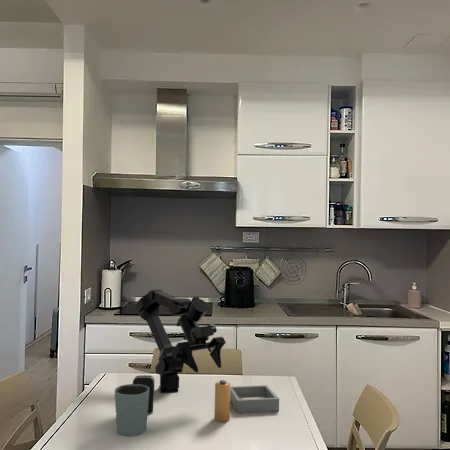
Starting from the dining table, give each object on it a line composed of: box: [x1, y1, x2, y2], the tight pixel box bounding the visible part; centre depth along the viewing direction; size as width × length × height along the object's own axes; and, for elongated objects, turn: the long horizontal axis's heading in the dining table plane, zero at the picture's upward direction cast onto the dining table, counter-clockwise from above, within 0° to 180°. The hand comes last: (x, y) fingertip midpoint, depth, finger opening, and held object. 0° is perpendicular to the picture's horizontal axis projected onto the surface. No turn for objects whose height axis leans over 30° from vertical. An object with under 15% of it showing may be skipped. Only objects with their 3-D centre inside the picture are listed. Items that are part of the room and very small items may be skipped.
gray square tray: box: [230, 384, 280, 414], centre depth 164 cm, size 14×14×4 cm
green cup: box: [114, 383, 149, 437], centre depth 140 cm, size 10×10×12 cm
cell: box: [213, 379, 231, 423], centre depth 150 cm, size 5×5×12 cm
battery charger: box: [132, 375, 155, 414], centre depth 155 cm, size 7×4×11 cm, turn 93°
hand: (209, 369), depth 157 cm, fingers open, 9 cm apart
